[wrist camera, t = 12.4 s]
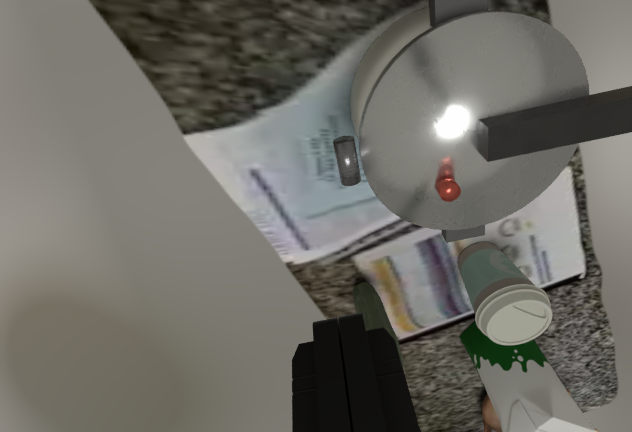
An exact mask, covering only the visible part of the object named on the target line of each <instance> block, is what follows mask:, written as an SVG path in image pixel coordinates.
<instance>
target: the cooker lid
mask: <svg viewBox="0 0 632 432" xmlns="http://www.w3.org/2000/svg"><path fill="white" fill-rule="evenodd" d="M629 132H632V86H630V87H625V88H621V89H616V90H611V91H608V92H602V93H598V94H593V95H589V84H588V80H587V75H586V71H585V68H584V65H583V63H582V60H581V58H580V56H579V55H578V53H577V51H576V50H575V48H574V47H573V45H572V44H571V43H570V42H569V41H568V40H567V39H566V37H565V36H564V35H563V34H561V33H560V32H559V31H557V30H556V29H555V28H553V27H552V26H551V25H549V24H547V23H545V22H543V21H541V20H539V19H536V18H532V17H529V16H526V15H522V14H518V13H514V12H506V11H480V12H474V13H468V14H464V15H461V16H457V17H454V18H451V19H448V20H446V21H444V22H442V23H439V24H437V25H435V26H433V27H431V28H430V29H428V30H426V31H425V32H423V33H422V34H420V35H418V36H417V37H416V38H414V39H413V40H412V41H411V42H409V43H408V44H407V45H406V46H404V47H403V48H402V49H401V50H400V51H399V52H398V53H397V54H396V55H395V56H394V57H393V58H392V59H391V61H390V62H389V63H388V65H387V66H386V67H385V68H384V70H383V71H382V72H381V74H380V75H379V77H378V79H377V80H376V82H375V84H374V85H373V87H372V89H371V91H370V94H369V96H368V98H367V100H366V103H365V106H364V109H363V113H362V117H361V122H360V128H359V151H360V158H361V162H362V166H363V169H364V172H365V175H366V178H367V180H368V182H369V185H370V187H371V188H372V190H373V192H374V193H375V195H376V196H377V197H378V199H379V200H380V201H381V202H382V203H383V204H384V205H385V206H386V207H387V208H388V209H389V210H390V211H391V212H393V213H394V214H396V215H397V216H399V217H400V218H402V219H404V220H406V221H408V222H410V223H413V224H416V225H419V226H422V227H426V228H431V229H439V230H461V229H468V228H474V227H478V226H482V225H486V224H489V223H492V222H495V221H497V220H500V219H502V218H504V217H506V216H508V215H511V214H512V213H514V212H516V211H518V210H519V209H521V208H523V207H524V206H526V205H527V204H528V203H530V202H531V201H533V200H534V199H535V198H536V197H538V196H539V195H540V194H541V193H542V192H543V191H545V190H546V189H547V188H548V187H549V186H550V185H551V184H552V182H553V181H554V180H555V179H556V178H557V177H558V176H559V174H560V173H561V172H562V171H563V169H564V168H565V167H566V165H567V164H568V162H569V160H570V159H571V157H572V156H573V154H574V152H575V150H576V148H577V146H578V144H579V143H581V142H586V141H591V140H595V139H601V138H605V137H610V136H615V135H620V134H624V133H629ZM333 144H334V149H335V154H336V159H337V164H338V169H339V174H340V179H341V183H342V185H344V186H353V185H356V184H358V183H359V182H360V181H361V176H360V170H359V165H358V159H357V153H356V147H355V142H354V137H352V136H342V137H339V138H336V139H335V140H334V141H333Z"/></svg>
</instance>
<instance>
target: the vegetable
mask: <svg viewBox="0 0 632 432" xmlns="http://www.w3.org/2000/svg"><path fill="white" fill-rule="evenodd" d="M353 299H354V305H355V309H356V312H357V313H363V318H364V322H365V326H366V331H367V330H372V329H377V328H383V327H384V328H385V329H386V330H387V331H388V333H389V334H390V335H391V336H392V337H393V338H394V340H395V342H396V346H397V349H398V353H399V356H400V360H401V364H402V367H403V360H402V354H401V350H400V346H399V343H398V340H397V337H396V335H395V332H394V331H393V329H392V326H391V324H390V321H389V319H388V316H387V314H386V312H385V309H384V306H383V303H382V301H381V299H380V297H379V295H378V293H377V292H376V291H375V289H374V287H373V286H372V285H370V284H368V283H366V282H362V283H361V284H358V285H357V286H356V287H355V288H354V289H353Z"/></svg>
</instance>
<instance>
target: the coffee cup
mask: <svg viewBox="0 0 632 432" xmlns="http://www.w3.org/2000/svg"><path fill="white" fill-rule="evenodd" d="M458 267H459V270H460V273H461V276H462V278H463V281H464V284H465V287H466V290H467V292H468V295H469V298H470V301H471V304H472V306H473V309H474V312H475V315H476V316H475V321H476V324H477V326H478V328H479V329H480V330H481V331H482V333H483V334H485V335H486V336H488V337H489V338H490V339H491V340H492V341H493V342H495V343H497V344H501V345H518V344H522V343H526V342H528V341H531V340H533V339H534V338H536V337H538V336H539V335H541V334H542V333H543V332H544V331H545V330H546V329H547V328H548V326H549V325H550V323H551V320H552V311H551V305H550V301H549V299H548V297H547V295H546V293H545V292H544V291H543V290H542V289H540V288H539V287H536V286H535V285H534V284H533V283H532V282H531V281H530V280H529V279H528V278H527V277H526V276H525V275H524V274H523V273H522V272H521V271H520V270H519V269H518V268H517V267H516V266H515V265H514V264H513V263H512V262H511V261H510V260H509V259H508V258H507V257H506V256H505V255H504V254H503V253H502V252H501V251H500V250H499V249H498V248H497V247H496V246H495V245H494V244H492V243H489V242H479V243H475V244H472V245H470V246H469V247H467V248H466V249H464V250H463V251H462V253H461V254H460V256H459V258H458Z"/></svg>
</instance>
